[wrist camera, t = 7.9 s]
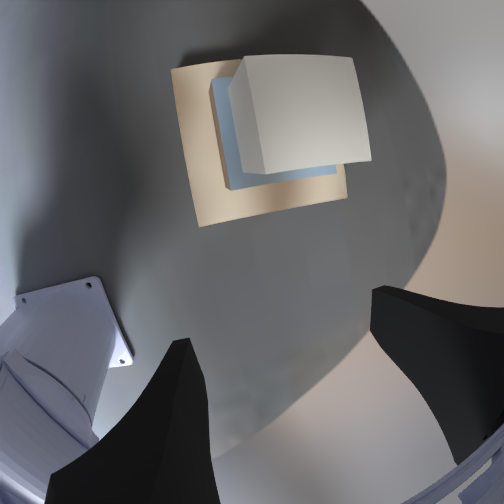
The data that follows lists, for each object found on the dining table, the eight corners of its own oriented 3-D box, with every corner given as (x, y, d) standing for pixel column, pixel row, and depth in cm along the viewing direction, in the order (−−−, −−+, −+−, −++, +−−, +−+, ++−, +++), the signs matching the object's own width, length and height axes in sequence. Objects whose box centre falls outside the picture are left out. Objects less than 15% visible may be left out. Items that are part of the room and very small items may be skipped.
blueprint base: (198, 221, 18) (200, 237, 14) (172, 79, 15) (167, 53, 11) (333, 194, 20) (368, 203, 15) (312, 66, 16) (342, 45, 12)
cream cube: (243, 172, 14) (265, 174, 9) (227, 88, 12) (244, 56, 8) (323, 160, 14) (371, 160, 10) (309, 83, 13) (352, 57, 9)
